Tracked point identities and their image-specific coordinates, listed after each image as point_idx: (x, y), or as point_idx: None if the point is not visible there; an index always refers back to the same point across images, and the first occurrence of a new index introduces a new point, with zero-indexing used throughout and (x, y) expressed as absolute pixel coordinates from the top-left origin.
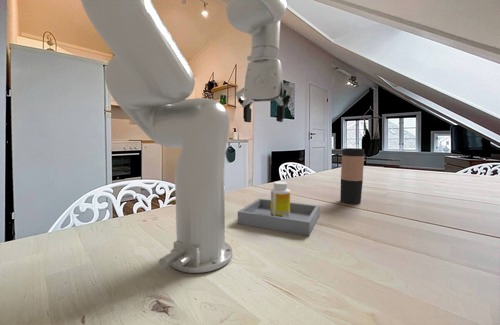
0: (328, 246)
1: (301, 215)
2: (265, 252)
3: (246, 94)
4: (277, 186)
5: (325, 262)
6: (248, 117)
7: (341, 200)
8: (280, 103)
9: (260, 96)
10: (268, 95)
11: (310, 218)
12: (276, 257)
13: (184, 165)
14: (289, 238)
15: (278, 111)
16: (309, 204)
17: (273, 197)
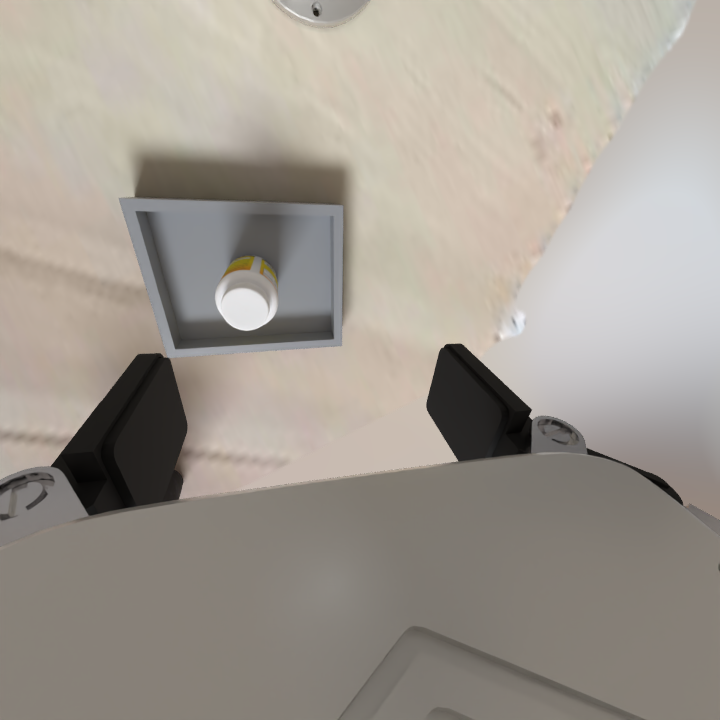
0: (55, 145)
1: (208, 314)
2: (179, 27)
3: (644, 496)
4: (246, 284)
5: (5, 23)
6: (448, 390)
7: (175, 473)
8: (31, 492)
9: (352, 486)
10: (160, 524)
11: (134, 235)
12: (137, 2)
13: None
14: (172, 158)
15: (108, 401)
16: (197, 355)
17: (259, 270)
